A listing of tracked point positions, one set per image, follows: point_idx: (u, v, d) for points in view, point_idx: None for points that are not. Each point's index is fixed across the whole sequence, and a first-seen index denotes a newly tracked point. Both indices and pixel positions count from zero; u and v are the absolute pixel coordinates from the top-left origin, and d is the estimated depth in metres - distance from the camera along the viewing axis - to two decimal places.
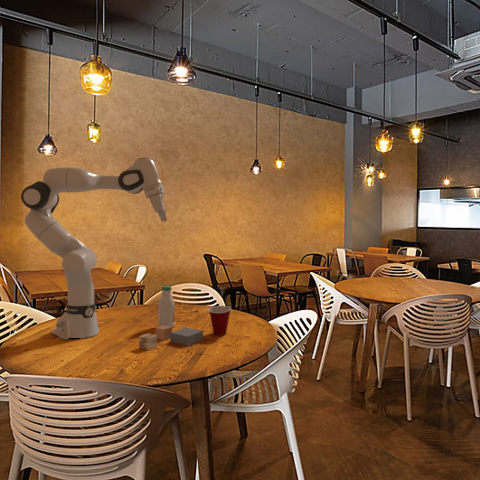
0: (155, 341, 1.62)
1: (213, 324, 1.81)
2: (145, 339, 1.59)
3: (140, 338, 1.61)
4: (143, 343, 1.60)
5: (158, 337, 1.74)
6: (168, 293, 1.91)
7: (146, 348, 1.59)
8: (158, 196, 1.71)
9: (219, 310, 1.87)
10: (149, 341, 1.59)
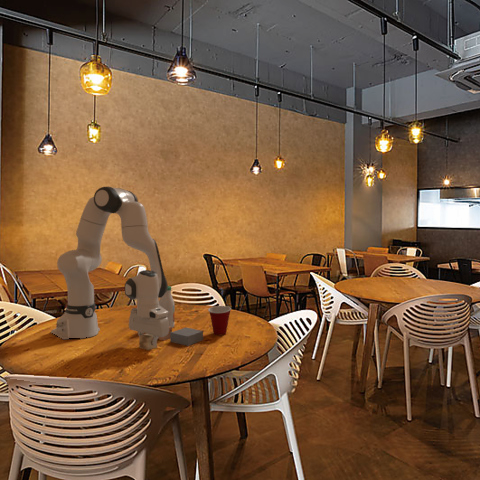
0: None
1: (213, 324, 1.81)
2: (145, 338, 1.59)
3: (140, 338, 1.61)
4: (143, 343, 1.60)
5: (158, 337, 1.74)
6: (168, 293, 1.91)
7: (146, 348, 1.59)
8: (167, 320, 1.58)
9: (219, 310, 1.87)
10: (149, 341, 1.59)
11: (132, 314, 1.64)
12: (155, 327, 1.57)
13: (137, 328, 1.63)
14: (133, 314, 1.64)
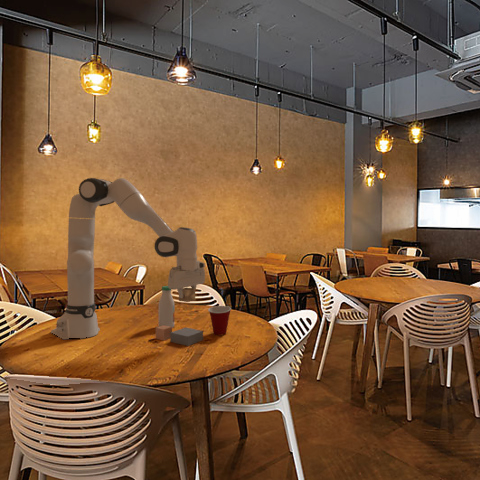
0: None
1: (213, 324, 1.81)
2: (193, 290, 1.70)
3: (188, 292, 1.68)
4: (191, 295, 1.69)
5: (158, 337, 1.74)
6: (168, 293, 1.91)
7: (194, 298, 1.71)
8: None
9: (219, 310, 1.87)
10: None
11: (178, 272, 1.63)
12: (199, 276, 1.74)
13: (183, 284, 1.66)
14: (179, 272, 1.63)
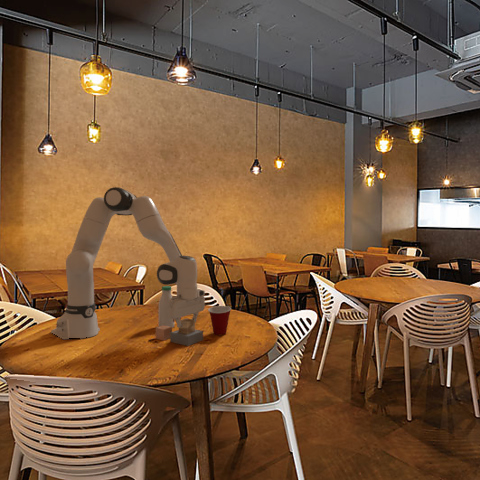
0: None
1: (213, 324, 1.81)
2: (192, 321, 1.71)
3: (188, 324, 1.69)
4: (191, 327, 1.70)
5: (158, 337, 1.74)
6: (168, 293, 1.91)
7: (193, 330, 1.72)
8: None
9: (219, 310, 1.87)
10: None
11: (178, 302, 1.64)
12: (199, 304, 1.75)
13: (183, 313, 1.66)
14: (179, 301, 1.64)
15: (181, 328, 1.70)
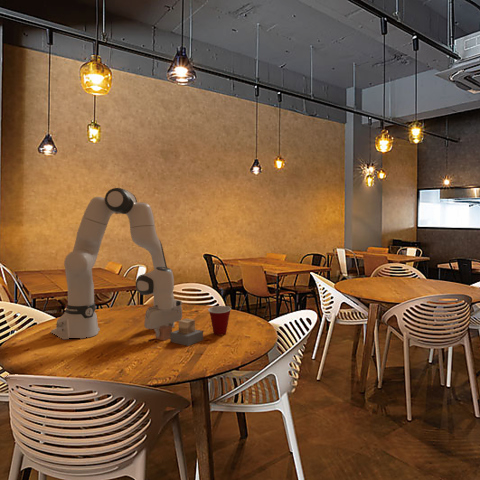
0: None
1: (213, 324, 1.81)
2: (192, 321, 1.71)
3: (188, 324, 1.69)
4: (191, 327, 1.70)
5: (158, 337, 1.74)
6: None
7: (193, 330, 1.72)
8: None
9: (219, 310, 1.87)
10: None
11: (154, 312, 1.68)
12: (176, 314, 1.79)
13: (159, 323, 1.70)
14: (155, 312, 1.68)
15: (181, 328, 1.70)
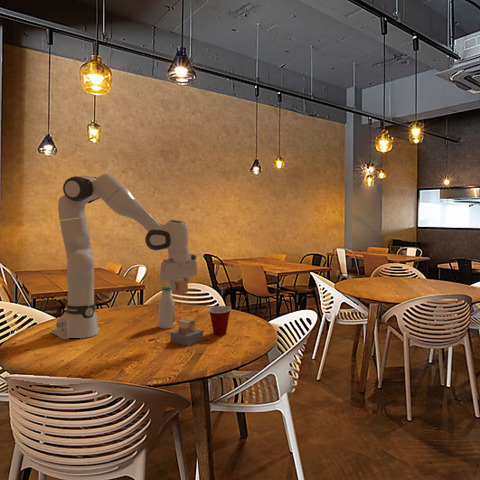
0: None
1: (213, 324, 1.81)
2: (192, 321, 1.71)
3: (188, 324, 1.69)
4: (191, 327, 1.70)
5: (174, 291, 1.70)
6: (168, 293, 1.91)
7: (193, 330, 1.72)
8: None
9: (219, 310, 1.87)
10: None
11: (169, 265, 1.64)
12: (191, 268, 1.75)
13: (175, 277, 1.67)
14: (170, 264, 1.64)
15: (181, 328, 1.70)
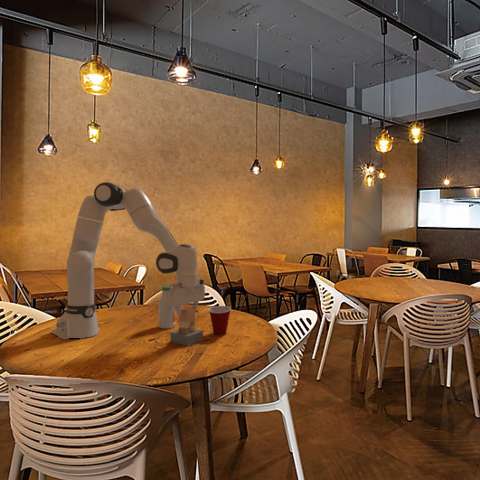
0: None
1: (213, 324, 1.81)
2: (192, 321, 1.71)
3: (188, 324, 1.69)
4: (191, 327, 1.70)
5: (181, 319, 1.70)
6: (168, 293, 1.91)
7: (193, 330, 1.72)
8: None
9: (219, 310, 1.87)
10: None
11: (178, 290, 1.63)
12: (199, 292, 1.75)
13: (183, 302, 1.66)
14: (179, 289, 1.64)
15: (181, 328, 1.70)
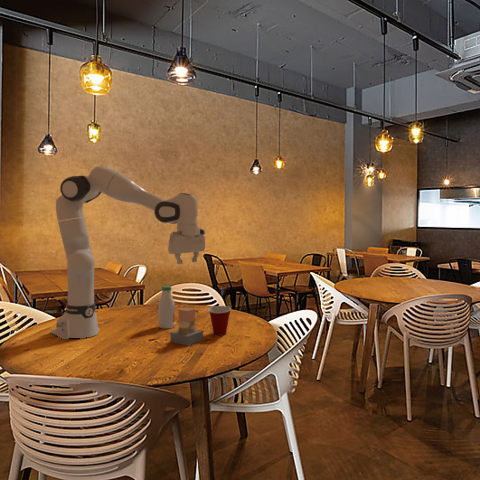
0: None
1: (213, 324, 1.81)
2: (192, 321, 1.71)
3: (188, 324, 1.69)
4: (191, 327, 1.70)
5: (181, 319, 1.70)
6: (168, 293, 1.91)
7: (193, 330, 1.72)
8: None
9: (219, 310, 1.87)
10: None
11: (178, 237, 1.62)
12: (199, 243, 1.74)
13: (183, 250, 1.65)
14: (179, 237, 1.63)
15: (181, 328, 1.70)
